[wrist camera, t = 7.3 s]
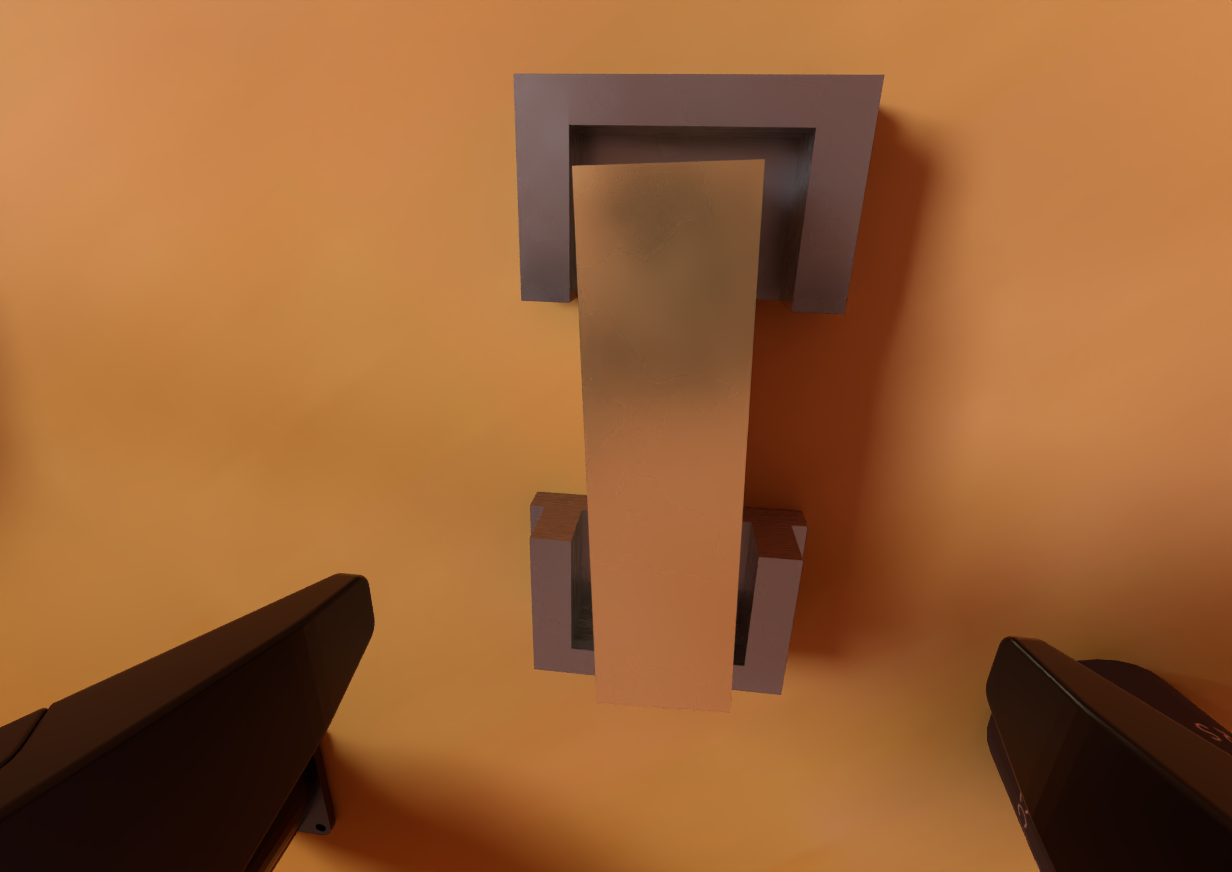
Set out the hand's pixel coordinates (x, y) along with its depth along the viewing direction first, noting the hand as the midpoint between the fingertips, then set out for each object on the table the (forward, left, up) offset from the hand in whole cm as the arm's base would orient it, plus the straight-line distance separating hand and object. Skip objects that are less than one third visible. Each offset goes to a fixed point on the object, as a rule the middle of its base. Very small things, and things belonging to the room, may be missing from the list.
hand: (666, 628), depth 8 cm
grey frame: (0, 0, -11) cm, 11 cm away
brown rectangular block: (0, 0, -10) cm, 10 cm away
